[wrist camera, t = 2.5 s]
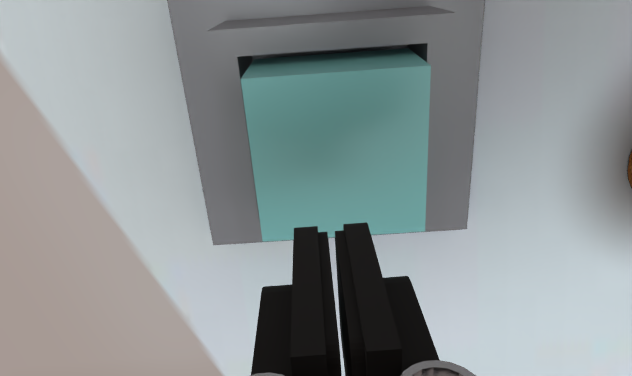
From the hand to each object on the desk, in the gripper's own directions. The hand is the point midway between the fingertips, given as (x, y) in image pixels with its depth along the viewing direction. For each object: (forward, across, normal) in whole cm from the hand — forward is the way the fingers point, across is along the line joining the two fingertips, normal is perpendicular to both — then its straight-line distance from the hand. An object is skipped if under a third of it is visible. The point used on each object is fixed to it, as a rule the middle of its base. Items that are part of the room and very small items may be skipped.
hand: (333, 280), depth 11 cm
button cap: (+11, -1, 0) cm, 11 cm away
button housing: (+14, -1, 0) cm, 14 cm away
